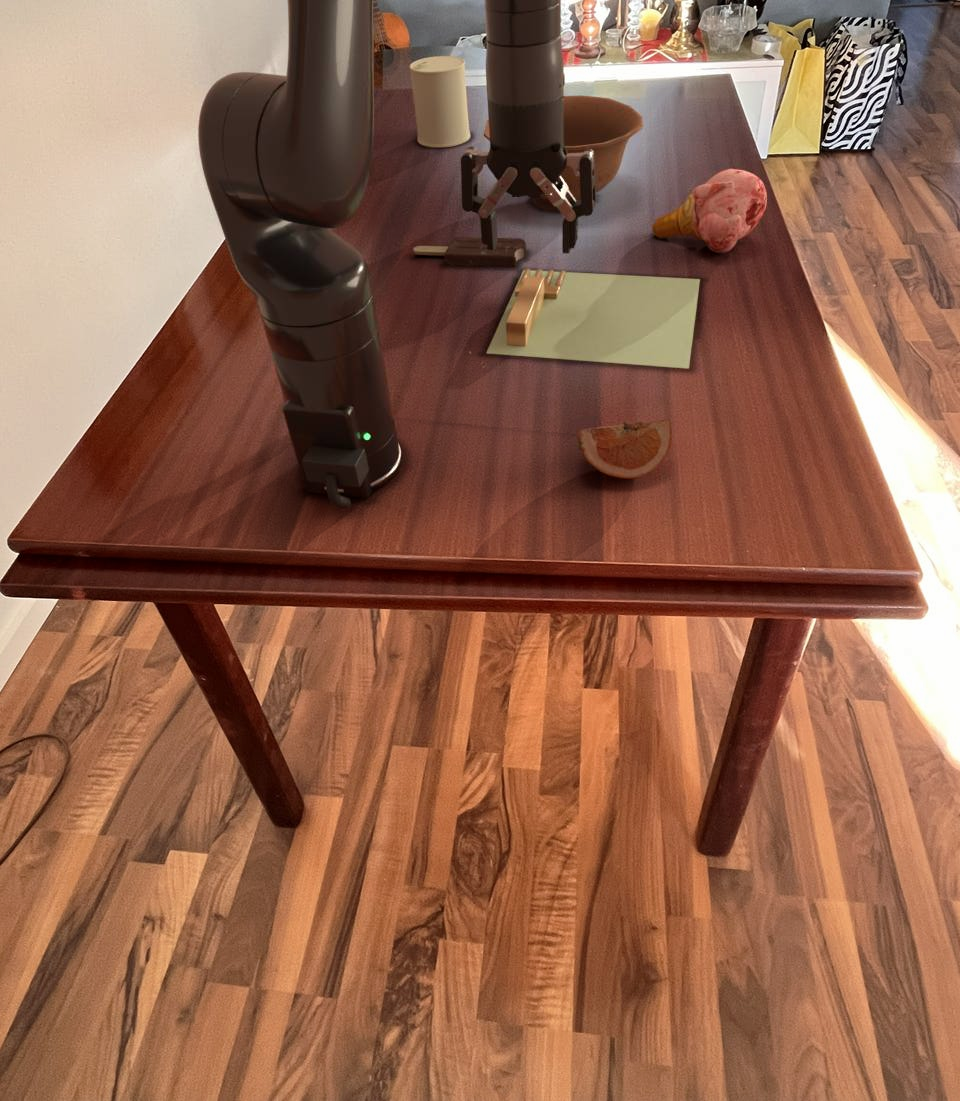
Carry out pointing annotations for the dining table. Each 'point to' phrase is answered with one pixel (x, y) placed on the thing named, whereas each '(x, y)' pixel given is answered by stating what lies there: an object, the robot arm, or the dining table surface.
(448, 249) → the ice cream bar
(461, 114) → the can
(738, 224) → the ice cream
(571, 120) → the bowl
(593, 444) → the fruit slice
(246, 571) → the dining table surface
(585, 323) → the placemat
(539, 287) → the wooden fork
